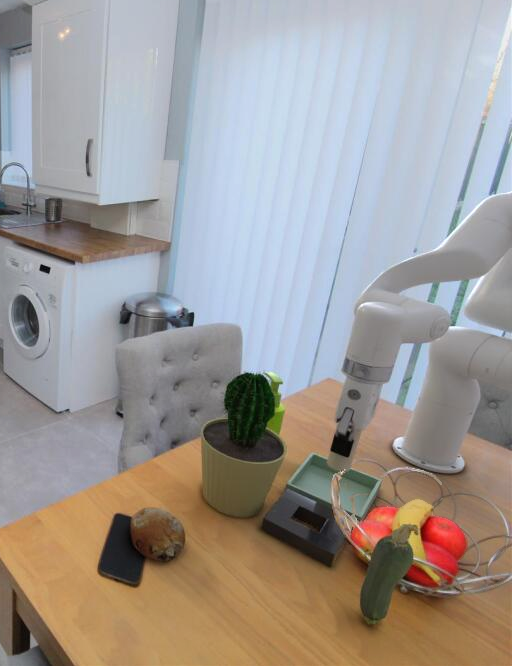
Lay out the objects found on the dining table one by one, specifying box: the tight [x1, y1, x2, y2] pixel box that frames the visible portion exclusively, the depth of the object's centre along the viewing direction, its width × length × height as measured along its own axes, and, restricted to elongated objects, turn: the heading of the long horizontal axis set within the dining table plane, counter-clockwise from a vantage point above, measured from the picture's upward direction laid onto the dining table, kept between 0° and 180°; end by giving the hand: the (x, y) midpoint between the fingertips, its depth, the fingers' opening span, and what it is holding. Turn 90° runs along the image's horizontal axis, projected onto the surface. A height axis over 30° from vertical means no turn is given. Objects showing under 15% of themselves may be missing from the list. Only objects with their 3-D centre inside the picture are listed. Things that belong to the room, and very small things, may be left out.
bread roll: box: [129, 506, 186, 562], centre depth 90 cm, size 10×10×8 cm
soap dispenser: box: [263, 371, 286, 436], centre depth 111 cm, size 6×7×20 cm
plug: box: [327, 422, 362, 472], centre depth 96 cm, size 4×4×10 cm
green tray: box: [283, 451, 383, 522], centre depth 100 cm, size 15×13×3 cm
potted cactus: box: [200, 369, 288, 518], centre depth 95 cm, size 15×15×30 cm
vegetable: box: [359, 523, 421, 626], centre depth 72 cm, size 4×4×20 cm
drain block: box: [260, 489, 348, 568], centre depth 91 cm, size 12×12×3 cm
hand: (343, 448), depth 97 cm, fingers closed on plug, 4 cm apart
